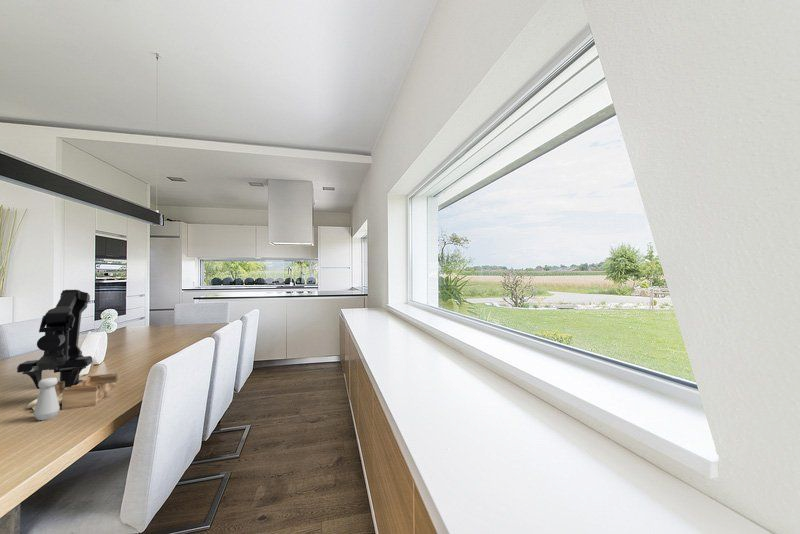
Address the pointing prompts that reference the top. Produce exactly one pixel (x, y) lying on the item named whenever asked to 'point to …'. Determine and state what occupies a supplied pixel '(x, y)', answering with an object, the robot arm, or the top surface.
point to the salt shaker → (47, 400)
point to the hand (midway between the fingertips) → (56, 386)
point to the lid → (59, 389)
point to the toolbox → (86, 392)
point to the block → (108, 379)
